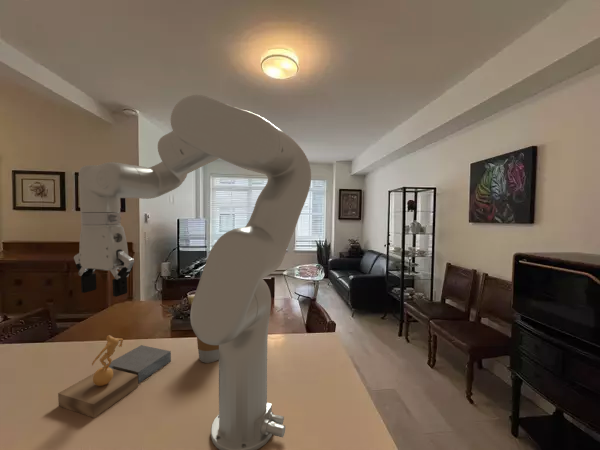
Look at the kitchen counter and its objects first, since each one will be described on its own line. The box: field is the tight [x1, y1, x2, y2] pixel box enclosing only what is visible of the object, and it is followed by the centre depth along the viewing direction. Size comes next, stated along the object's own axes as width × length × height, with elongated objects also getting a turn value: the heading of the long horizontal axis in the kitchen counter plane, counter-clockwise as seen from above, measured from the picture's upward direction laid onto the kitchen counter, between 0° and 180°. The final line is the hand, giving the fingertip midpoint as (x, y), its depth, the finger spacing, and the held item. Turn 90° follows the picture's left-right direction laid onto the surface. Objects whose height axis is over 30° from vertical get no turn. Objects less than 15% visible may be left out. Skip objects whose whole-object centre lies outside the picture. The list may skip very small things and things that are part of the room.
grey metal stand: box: [106, 344, 172, 384], centre depth 78 cm, size 11×11×3 cm
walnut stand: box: [57, 368, 139, 418], centre depth 67 cm, size 11×11×3 cm
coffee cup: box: [196, 336, 219, 364], centre depth 84 cm, size 8×8×15 cm
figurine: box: [91, 334, 124, 386], centre depth 66 cm, size 8×6×12 cm
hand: (104, 292), depth 66 cm, fingers open, 9 cm apart
